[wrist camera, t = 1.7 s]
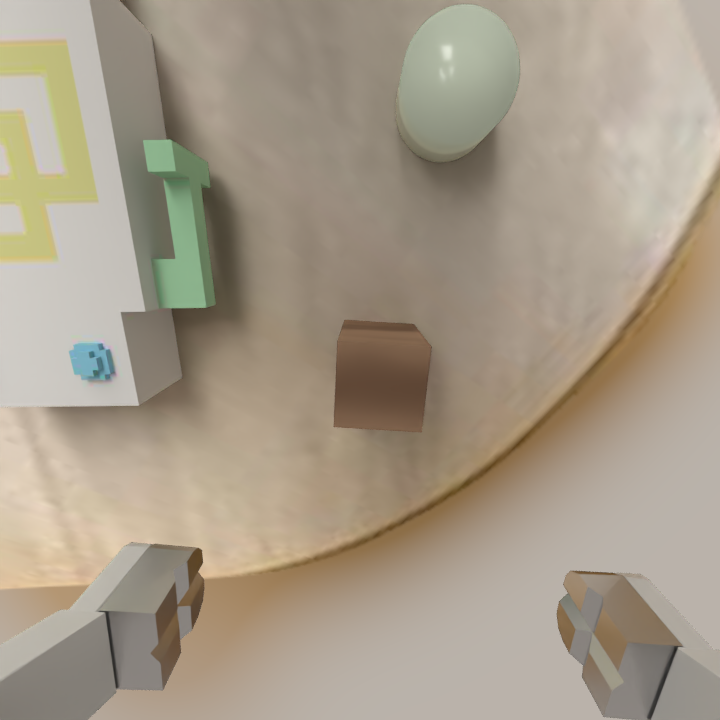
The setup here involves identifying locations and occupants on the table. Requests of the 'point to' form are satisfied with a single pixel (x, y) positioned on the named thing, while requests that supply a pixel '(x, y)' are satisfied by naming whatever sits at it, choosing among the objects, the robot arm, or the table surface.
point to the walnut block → (381, 376)
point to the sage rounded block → (456, 82)
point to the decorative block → (91, 210)
